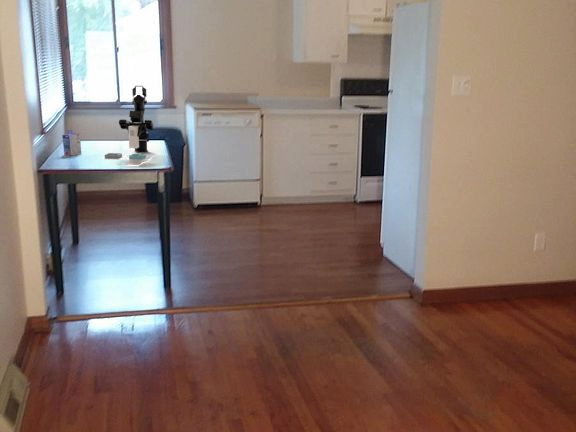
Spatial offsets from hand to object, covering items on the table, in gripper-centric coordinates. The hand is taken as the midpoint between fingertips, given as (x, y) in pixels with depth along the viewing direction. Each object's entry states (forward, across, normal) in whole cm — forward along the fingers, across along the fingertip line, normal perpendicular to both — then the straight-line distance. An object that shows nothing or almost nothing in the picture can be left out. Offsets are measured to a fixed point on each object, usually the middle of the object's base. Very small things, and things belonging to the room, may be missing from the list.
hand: (133, 136), depth 347 cm
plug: (+4, 0, +5) cm, 7 cm away
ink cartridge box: (0, -41, +19) cm, 46 cm away
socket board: (+9, -5, +10) cm, 15 cm away
